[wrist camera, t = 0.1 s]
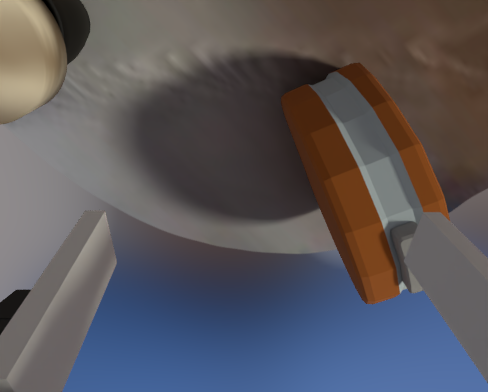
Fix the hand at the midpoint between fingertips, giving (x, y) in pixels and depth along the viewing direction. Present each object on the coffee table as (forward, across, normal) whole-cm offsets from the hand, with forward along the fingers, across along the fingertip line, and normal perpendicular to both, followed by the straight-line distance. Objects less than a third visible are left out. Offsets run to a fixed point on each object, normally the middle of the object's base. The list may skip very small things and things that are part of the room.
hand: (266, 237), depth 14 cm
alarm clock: (+28, +13, -7) cm, 32 cm away
